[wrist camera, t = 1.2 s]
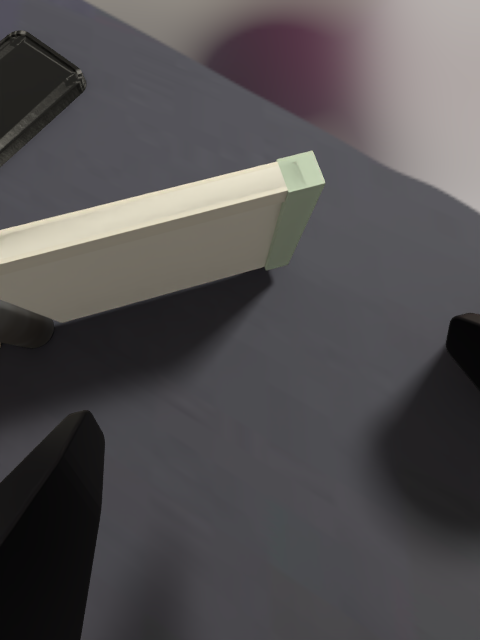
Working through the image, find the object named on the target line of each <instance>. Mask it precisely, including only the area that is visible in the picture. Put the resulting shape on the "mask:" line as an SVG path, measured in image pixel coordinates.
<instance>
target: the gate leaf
mask: <svg viewBox="0 0 480 640" xmlns="http://www.w3.org/2000/svg"><path fill="white" fill-rule="evenodd" d="M324 185H325V181H324V178H323V176H322V173H321V171H320V168H319V166H318V163H317V161H316V158H315V156H314V153H313V151H309V152H305V153H301V154H297V155H293V156H289V157H285V158H281V159H277V160H276V162H274V163H270V164H266V165H262V166H257V167H253V168H249V169H245V170H241V171H237V172H233V173H229V174H225V175H221V176H217V177H213V178H209V179H205V180H201V181H197V182H193V183H189V184H185V185H181V186H177V187H173V188H169V189H165V190H161V191H157V192H153V193H149V194H145V195H141V196H136V197H132V198H128V199H124V200H120V201H116V202H112V203H108V204H104V205H100V206H96V207H92V208H88V209H84V210H80V211H76V212H72V213H68V214H64V215H60V216H56V217H52V218H48V219H44V220H40V221H36V222H32V223H28V224H24V225H19V226H15V227H11V228H7V229H3V230H0V300H3V301H5V302H8V303H11V304H13V305H16V306H18V307H21V308H24V309H26V310H29V311H32V312H34V313H37V314H40V315H42V316H45V317H48V318H50V319H53V320H56V321H58V322H61V323H63V322H67V321H70V320H74V319H78V318H81V317H85V316H88V315H92V314H96V313H99V312H103V311H107V310H110V309H114V308H117V307H121V306H125V305H128V304H132V303H135V302H139V301H143V300H146V299H150V298H154V297H157V296H161V295H164V294H168V293H172V292H175V291H179V290H182V289H186V288H190V287H193V286H197V285H201V284H204V283H208V282H211V281H215V280H219V279H222V278H226V277H229V276H233V275H237V274H240V273H244V272H247V271H251V270H255V269H258V268H262V267H265V269H266V271H267V270H270V269H274V268H278V267H281V266H285V265H288V264H289V261H290V259H291V257H292V255H293V253H294V251H295V248H296V246H297V244H298V242H299V240H300V238H301V235H302V233H303V231H304V229H305V227H306V224H307V222H308V220H309V218H310V216H311V214H312V211H313V209H314V207H315V205H316V203H317V200H318V198H319V196H320V194H321V192H322V190H323V187H324Z"/></svg>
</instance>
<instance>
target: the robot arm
mask: <svg viewBox="0 0 480 640" xmlns="http://www.w3.org/2000/svg"><path fill="white" fill-rule="evenodd" d="M446 348H447V351H448V353H449V354H450V355H451V357H452V358H453V359H454V360H455V361H456V363H457V364H458V365H459V366H460V368H461V369H462V370H463V371H464V372H465V374H466V375H467V376H468V377H469V379H470V380H471V381H472V382H473V383H474V385H475V386H476V387H477V388H478V390H479V391H480V315H479V314H474V313H466V314H462V315H458V316H455V317H453V318H452V319H451V321H450V325H449V330H448V335H447V340H446ZM104 452H105V439H104V435H103V432H102V431H101V429H100V427H99V425H98V424H97V422H96V420H95V418H94V417H93V415H92V413H91V412H90V411H88V410H83V411H79V412H75V413H72V414H69V415H68V416H67V417H66V418H65V419H64V420H63V421H62V422H61V423H60V424H59V425H58V426H57V427H56V428H55V429H54V430H53V431H52V432H51V433H50V434H49V435H48V436H47V437H46V438H45V439H44V440H43V441H42V442H41V443H40V444H39V445H38V446H37V447H36V448H35V449H34V450H33V451H32V452H31V453H30V454H29V455H28V456H27V457H26V458H25V459H24V460H23V461H22V462H21V463H20V464H19V465H18V466H17V467H16V468H15V469H14V470H13V471H12V472H11V473H10V474H9V475H8V476H7V477H6V478H5V479H4V480H3V481H2V482H1V483H0V640H80V639H81V633H82V627H83V620H84V614H85V608H86V602H87V596H88V590H89V583H90V577H91V571H92V565H93V559H94V552H95V546H96V540H97V534H98V528H99V522H100V514H101V505H102V490H103V471H104Z"/></svg>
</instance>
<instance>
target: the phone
mask: <svg viewBox="0 0 480 640" xmlns="http://www.w3.org/2000/svg"><path fill="white" fill-rule="evenodd" d="M85 88H86V80H85V78H84V76H83V74H82V72H81V70H80V69H79V68H78V67H77V66H75V65H74V64H73V63H71V62H70V61H68V60H67V59H65V58H64V57H63V56H61V55H60V54H58V53H57V52H55V51H54V50H53V49H51V48H50V47H48V46H47V45H45V44H44V43H43V42H41V41H40V40H38V39H37V38H36V37H34V36H33V35H31V34H30V33H28V32H26V31H15V32H12V33H10V34H9V35H7V36H6V37H5V38H4V39H2V40H1V41H0V167H1V166H2V165H3V164H4V163H5V162H7V161H8V160H9V159H10V158H11V157H12V156H13V155H14V154H15V153H16V152H18V151H19V150H20V149H21V148H22V147H23V146H24V145H25V144H26V143H27V142H29V141H30V140H31V139H32V138H33V137H34V136H35V135H36V134H37V133H39V132H40V131H41V130H42V129H43V128H44V127H45V126H46V125H47V124H48V123H50V122H51V121H52V120H53V119H54V118H55V117H56V116H57V115H58V114H59V113H61V112H62V111H63V110H64V109H65V108H66V107H67V106H68V105H69V104H70V103H72V102H73V101H74V100H75V99H76V98H77V97H78V96H79V95H80V94H81V93H83V91H84V90H85Z"/></svg>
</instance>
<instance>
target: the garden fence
mask: <svg viewBox="0 0 480 640" xmlns="http://www.w3.org/2000/svg"><path fill="white" fill-rule="evenodd" d="M53 331H54V323H53V320H52V319H50V318H48V317H45V316H42V315H40V314H37V313H34V312H32V311H29V310H26V309H24V308H21V307H18V306H16V305H13V304H11V303H8V302H5V301H3V300H0V348H1V343H5V344H10V345H15V346H20V347H26V348H38V347H40V346H42V345H44V344H45V343H47V342H48V341H49V339H50V338H51V336H52V334H53Z"/></svg>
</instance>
